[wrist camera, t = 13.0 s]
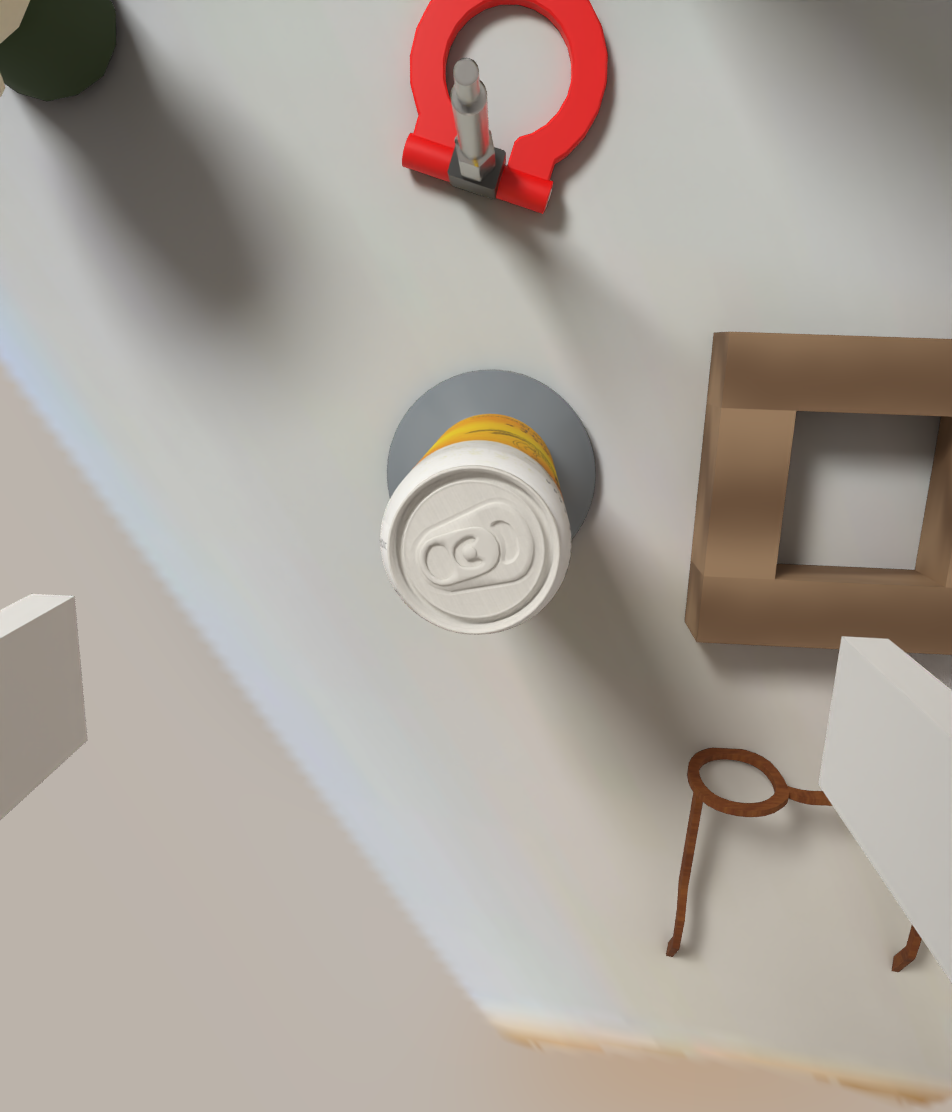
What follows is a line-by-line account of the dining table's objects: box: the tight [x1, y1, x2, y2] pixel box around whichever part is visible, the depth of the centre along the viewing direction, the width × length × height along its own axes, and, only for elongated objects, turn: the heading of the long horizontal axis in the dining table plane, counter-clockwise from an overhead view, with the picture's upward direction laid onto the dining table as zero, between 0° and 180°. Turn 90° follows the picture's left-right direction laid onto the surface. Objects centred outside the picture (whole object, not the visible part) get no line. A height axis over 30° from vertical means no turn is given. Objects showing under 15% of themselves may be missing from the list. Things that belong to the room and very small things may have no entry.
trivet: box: [387, 370, 595, 540], centre depth 40 cm, size 10×10×1 cm
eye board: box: [685, 332, 952, 655], centre depth 38 cm, size 14×14×3 cm
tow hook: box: [402, 0, 608, 214], centre depth 30 cm, size 8×13×9 cm
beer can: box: [380, 414, 571, 635], centre depth 32 cm, size 6×6×15 cm
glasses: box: [666, 748, 922, 972], centre depth 43 cm, size 13×13×5 cm
